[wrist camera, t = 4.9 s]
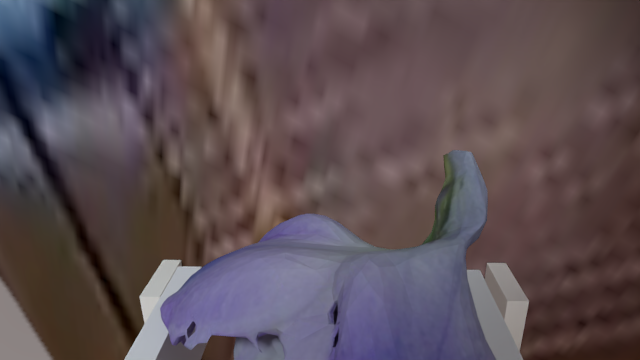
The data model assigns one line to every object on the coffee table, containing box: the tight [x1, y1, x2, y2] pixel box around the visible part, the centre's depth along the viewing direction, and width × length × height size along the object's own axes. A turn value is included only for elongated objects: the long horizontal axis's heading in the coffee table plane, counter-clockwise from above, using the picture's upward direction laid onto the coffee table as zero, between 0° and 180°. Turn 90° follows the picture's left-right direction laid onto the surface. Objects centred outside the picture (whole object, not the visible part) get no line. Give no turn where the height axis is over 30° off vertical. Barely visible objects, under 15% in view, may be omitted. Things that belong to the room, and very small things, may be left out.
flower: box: [160, 150, 496, 360], centre depth 13 cm, size 9×9×10 cm
